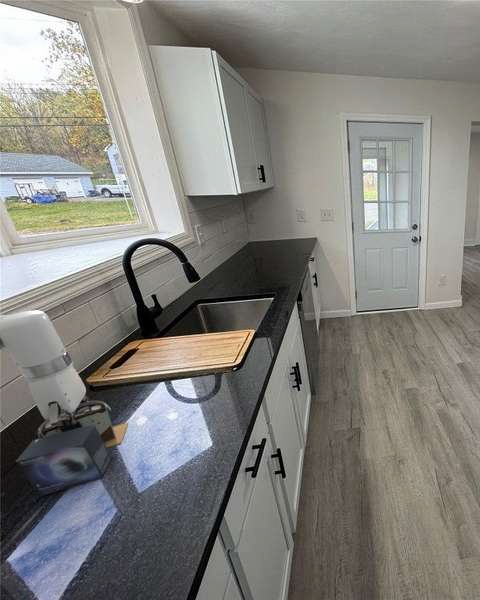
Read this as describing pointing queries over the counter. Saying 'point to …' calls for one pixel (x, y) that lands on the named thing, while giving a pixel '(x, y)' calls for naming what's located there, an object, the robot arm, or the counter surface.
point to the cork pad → (117, 435)
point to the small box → (65, 459)
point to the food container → (86, 420)
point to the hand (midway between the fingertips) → (82, 426)
